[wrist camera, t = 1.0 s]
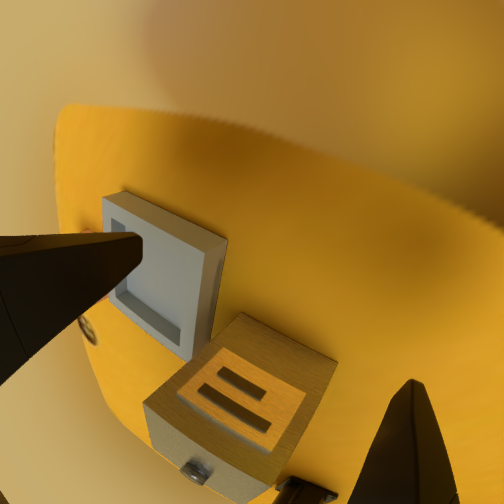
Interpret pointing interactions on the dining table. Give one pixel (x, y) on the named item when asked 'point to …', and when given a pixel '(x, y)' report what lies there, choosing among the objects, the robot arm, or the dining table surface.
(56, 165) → the dining table surface
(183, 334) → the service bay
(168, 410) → the junction box
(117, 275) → the robot arm
